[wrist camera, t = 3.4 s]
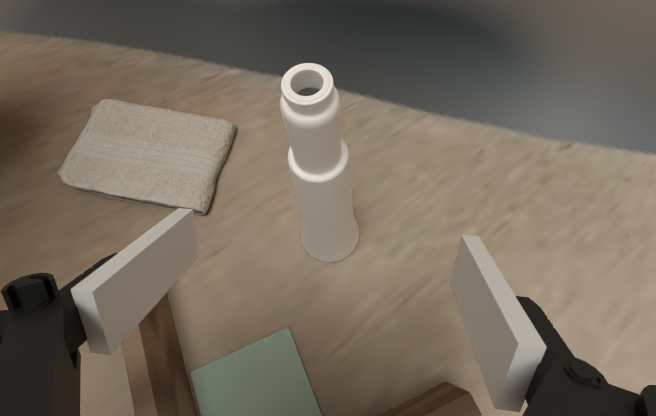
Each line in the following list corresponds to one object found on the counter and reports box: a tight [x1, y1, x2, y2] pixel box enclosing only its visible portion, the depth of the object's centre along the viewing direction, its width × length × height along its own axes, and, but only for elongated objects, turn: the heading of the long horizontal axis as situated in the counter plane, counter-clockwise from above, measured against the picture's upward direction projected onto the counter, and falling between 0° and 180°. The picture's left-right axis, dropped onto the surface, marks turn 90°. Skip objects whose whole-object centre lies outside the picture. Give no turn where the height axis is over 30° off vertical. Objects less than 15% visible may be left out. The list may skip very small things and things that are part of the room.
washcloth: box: [57, 98, 236, 216], centre depth 38 cm, size 12×18×3 cm, turn 78°
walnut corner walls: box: [122, 294, 482, 416], centre depth 28 cm, size 22×22×6 cm
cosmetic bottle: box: [280, 63, 359, 262], centre depth 24 cm, size 6×6×22 cm
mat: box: [190, 327, 322, 416], centre depth 29 cm, size 10×10×1 cm
